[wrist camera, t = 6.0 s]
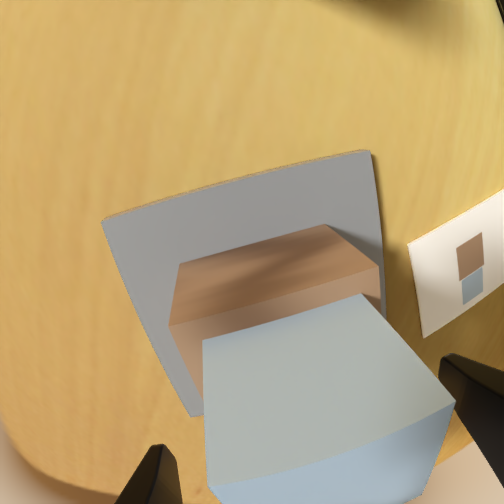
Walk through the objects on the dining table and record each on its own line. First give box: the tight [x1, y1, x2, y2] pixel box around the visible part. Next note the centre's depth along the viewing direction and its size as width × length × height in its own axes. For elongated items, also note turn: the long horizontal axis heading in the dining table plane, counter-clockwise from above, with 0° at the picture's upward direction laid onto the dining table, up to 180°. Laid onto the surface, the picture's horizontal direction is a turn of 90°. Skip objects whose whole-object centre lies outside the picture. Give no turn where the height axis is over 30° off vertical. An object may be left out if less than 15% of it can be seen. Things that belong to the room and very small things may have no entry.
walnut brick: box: [168, 224, 381, 402], centre depth 13 cm, size 6×6×5 cm
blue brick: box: [202, 293, 456, 504], centre depth 8 cm, size 5×5×5 cm
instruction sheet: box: [407, 189, 504, 338], centre depth 17 cm, size 9×7×1 cm
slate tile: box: [101, 150, 386, 417], centre depth 15 cm, size 12×12×1 cm
